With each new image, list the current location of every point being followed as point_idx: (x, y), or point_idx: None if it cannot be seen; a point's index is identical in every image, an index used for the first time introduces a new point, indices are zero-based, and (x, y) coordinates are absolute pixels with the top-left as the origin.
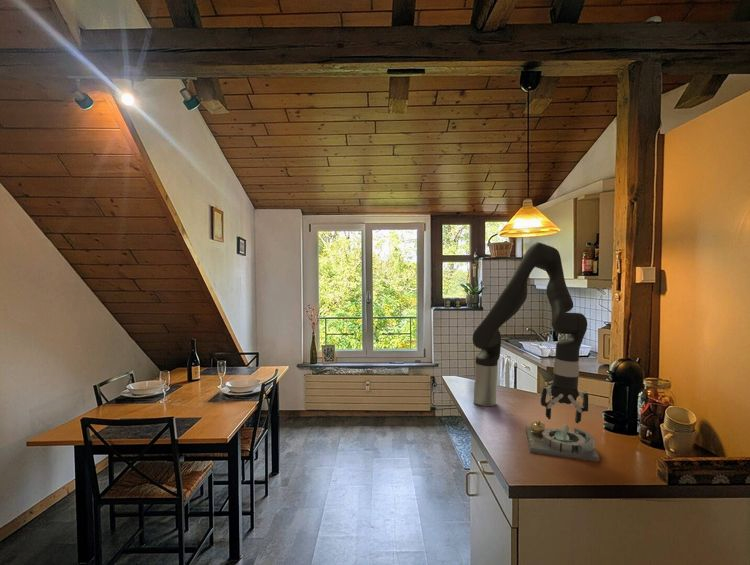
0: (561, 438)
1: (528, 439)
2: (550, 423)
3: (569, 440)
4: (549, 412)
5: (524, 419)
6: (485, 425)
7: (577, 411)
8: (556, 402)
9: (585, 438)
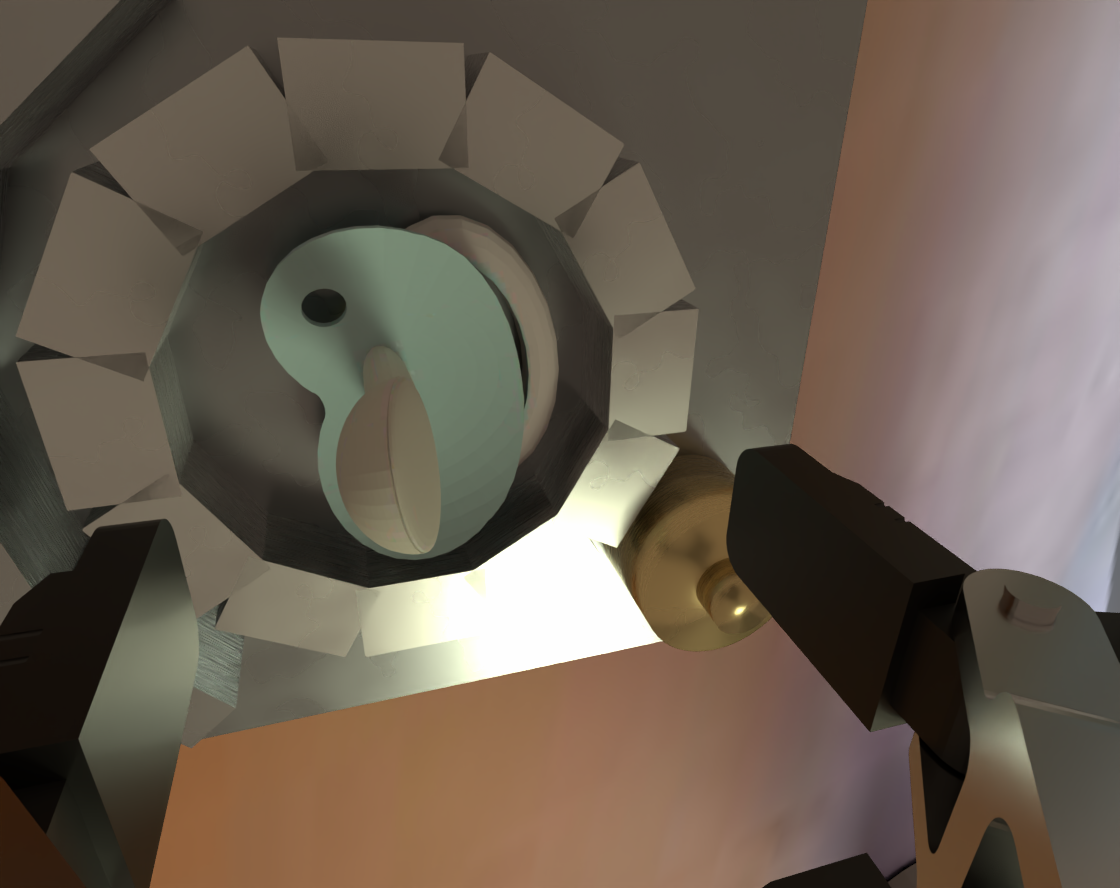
0: (427, 405)
1: (807, 297)
2: (478, 850)
3: (322, 236)
4: (873, 518)
5: (697, 803)
6: (1049, 525)
7: (56, 806)
8: (1046, 778)
9: (58, 541)
